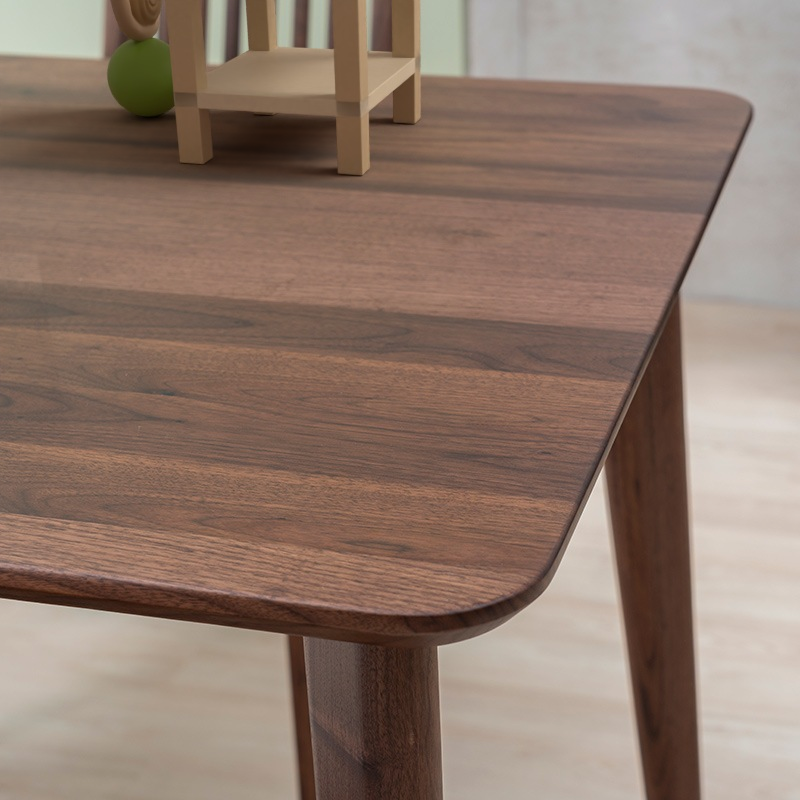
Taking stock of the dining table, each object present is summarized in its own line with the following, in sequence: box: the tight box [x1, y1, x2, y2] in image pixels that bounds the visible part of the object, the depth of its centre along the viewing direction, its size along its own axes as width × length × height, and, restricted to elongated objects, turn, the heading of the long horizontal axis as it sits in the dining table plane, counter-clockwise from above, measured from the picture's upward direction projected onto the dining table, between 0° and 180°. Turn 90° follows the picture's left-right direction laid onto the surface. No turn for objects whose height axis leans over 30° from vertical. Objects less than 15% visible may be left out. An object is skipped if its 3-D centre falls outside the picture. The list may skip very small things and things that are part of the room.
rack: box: [164, 0, 422, 176], centre depth 81 cm, size 12×14×12 cm
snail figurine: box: [106, 0, 175, 117], centre depth 86 cm, size 5×6×12 cm
